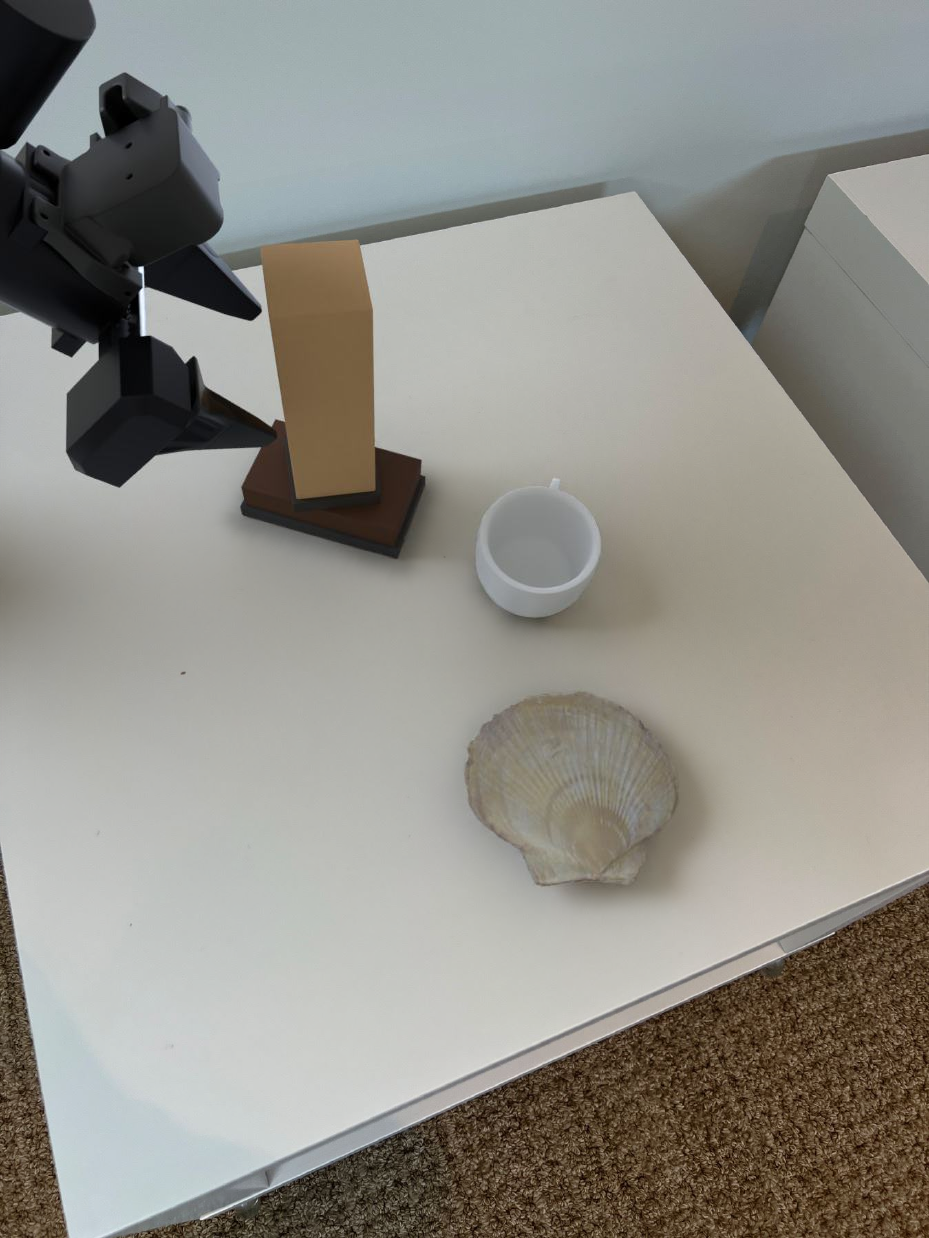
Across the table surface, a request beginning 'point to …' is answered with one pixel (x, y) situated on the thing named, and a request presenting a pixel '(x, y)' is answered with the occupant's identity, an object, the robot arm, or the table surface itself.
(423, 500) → the table surface
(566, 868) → the seashell
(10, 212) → the robot arm
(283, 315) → the tan block on base
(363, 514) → the brown slab
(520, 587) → the teacup
